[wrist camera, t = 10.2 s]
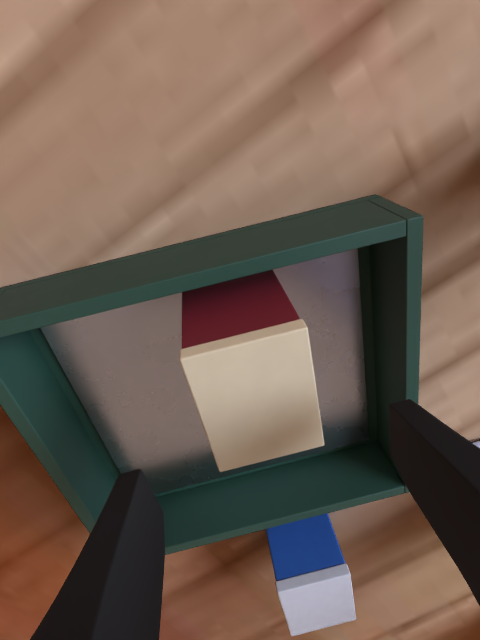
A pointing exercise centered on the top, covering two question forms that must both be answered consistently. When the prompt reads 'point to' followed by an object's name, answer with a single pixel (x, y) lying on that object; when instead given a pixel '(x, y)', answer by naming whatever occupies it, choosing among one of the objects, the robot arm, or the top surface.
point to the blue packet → (311, 575)
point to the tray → (199, 271)
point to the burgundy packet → (250, 370)
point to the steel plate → (171, 385)
